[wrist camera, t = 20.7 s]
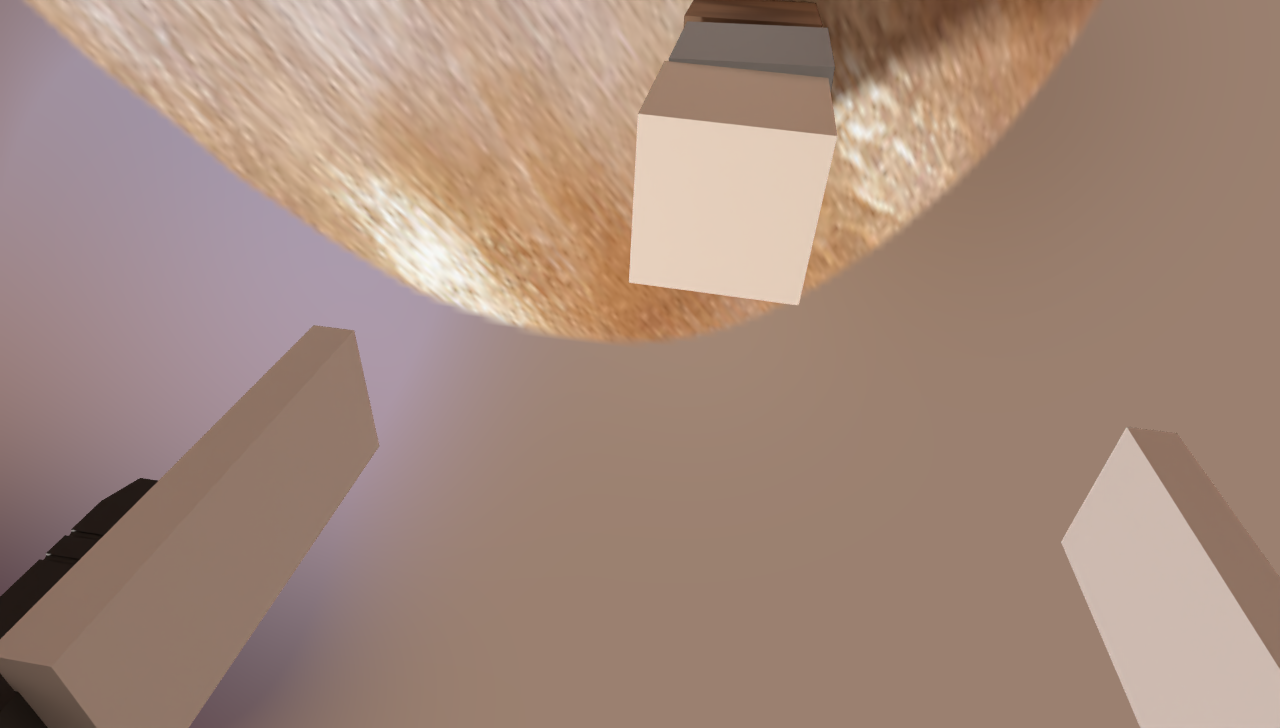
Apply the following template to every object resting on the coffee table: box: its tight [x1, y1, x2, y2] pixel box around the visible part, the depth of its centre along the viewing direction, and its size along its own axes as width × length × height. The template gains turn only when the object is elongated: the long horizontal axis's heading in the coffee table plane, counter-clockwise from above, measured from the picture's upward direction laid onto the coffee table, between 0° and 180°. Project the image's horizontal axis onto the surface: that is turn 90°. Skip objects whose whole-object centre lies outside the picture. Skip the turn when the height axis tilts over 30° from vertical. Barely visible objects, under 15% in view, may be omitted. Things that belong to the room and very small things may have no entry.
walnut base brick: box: [684, 0, 822, 28], centre depth 35 cm, size 6×6×6 cm
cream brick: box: [629, 61, 837, 305], centre depth 26 cm, size 6×6×6 cm
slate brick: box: [669, 21, 835, 92], centre depth 30 cm, size 6×6×6 cm
